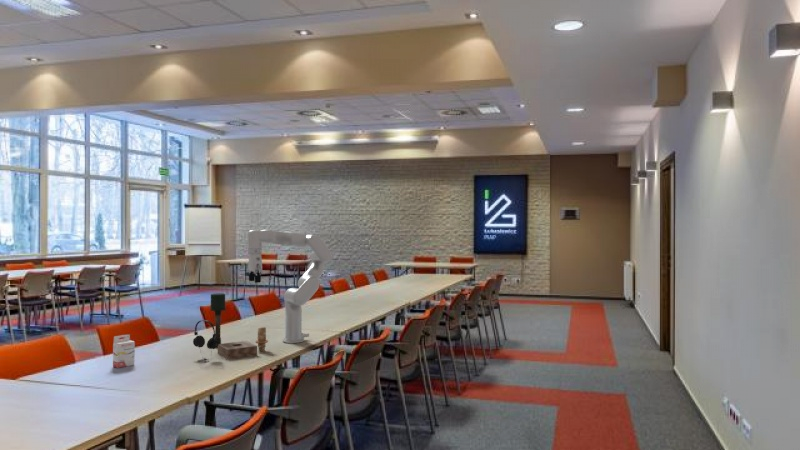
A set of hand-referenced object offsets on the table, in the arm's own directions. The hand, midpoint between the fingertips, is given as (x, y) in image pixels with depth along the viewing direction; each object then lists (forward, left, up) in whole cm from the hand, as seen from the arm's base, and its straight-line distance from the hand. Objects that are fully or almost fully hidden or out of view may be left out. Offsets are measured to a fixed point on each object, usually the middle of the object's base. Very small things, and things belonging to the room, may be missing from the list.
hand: (254, 281), depth 325 cm
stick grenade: (+18, -9, -37) cm, 42 cm away
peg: (+1, +14, -37) cm, 39 cm away
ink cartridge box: (+69, +8, -37) cm, 79 cm away
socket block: (+15, +15, -37) cm, 42 cm away
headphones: (+34, +17, -37) cm, 53 cm away
